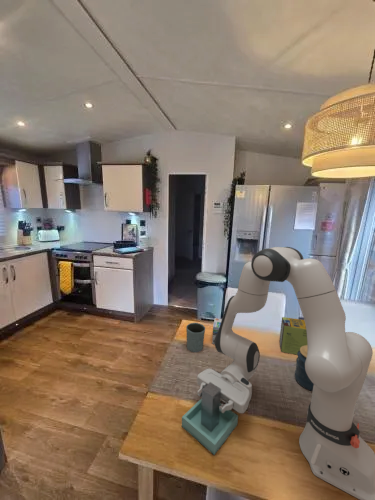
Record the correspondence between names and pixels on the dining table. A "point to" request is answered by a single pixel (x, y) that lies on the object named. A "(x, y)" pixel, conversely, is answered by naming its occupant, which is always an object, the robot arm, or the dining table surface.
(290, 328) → the protein box
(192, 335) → the dark green embossed cup
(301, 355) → the canister
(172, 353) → the dining table surface
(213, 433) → the tray
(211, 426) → the brushed steel pillar
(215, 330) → the light bulb box
